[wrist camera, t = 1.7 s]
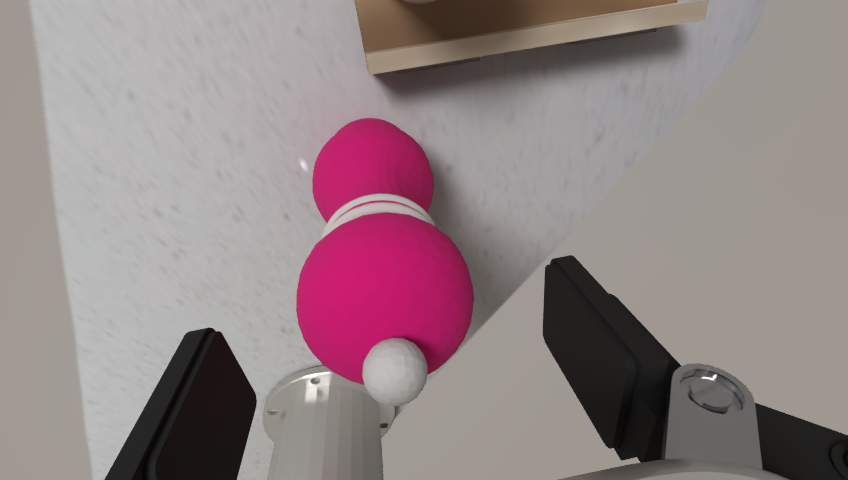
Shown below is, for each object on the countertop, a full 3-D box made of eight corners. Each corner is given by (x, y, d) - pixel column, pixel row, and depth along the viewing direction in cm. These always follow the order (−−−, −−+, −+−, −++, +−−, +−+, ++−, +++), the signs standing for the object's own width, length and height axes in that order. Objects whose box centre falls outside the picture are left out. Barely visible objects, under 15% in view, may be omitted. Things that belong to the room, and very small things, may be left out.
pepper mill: (441, 169, 28) (579, 392, 11) (366, 227, 29) (380, 510, 12) (377, 86, 25) (427, 212, 7) (296, 156, 26) (173, 405, 9)
